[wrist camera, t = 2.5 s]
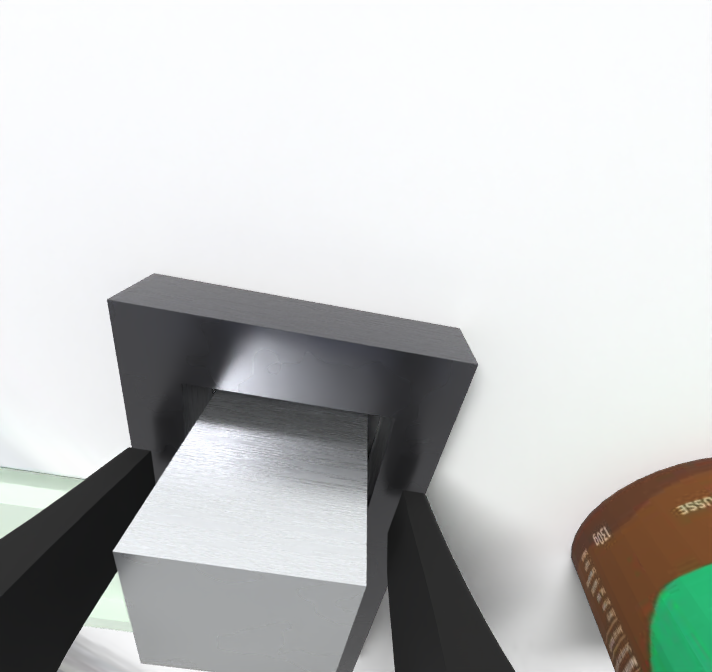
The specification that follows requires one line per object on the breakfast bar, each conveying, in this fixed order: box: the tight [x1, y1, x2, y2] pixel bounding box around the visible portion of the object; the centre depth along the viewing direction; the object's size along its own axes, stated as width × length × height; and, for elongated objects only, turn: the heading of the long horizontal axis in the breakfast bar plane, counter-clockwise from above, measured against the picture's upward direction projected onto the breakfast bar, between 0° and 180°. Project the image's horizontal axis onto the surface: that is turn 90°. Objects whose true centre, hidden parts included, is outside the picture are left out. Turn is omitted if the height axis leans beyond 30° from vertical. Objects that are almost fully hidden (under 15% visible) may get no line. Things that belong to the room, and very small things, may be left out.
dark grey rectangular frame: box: [107, 274, 478, 672], centre depth 14 cm, size 9×20×2 cm, turn 170°
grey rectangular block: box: [113, 389, 368, 672], centre depth 10 cm, size 4×4×6 cm
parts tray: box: [0, 467, 133, 632], centre depth 15 cm, size 9×9×1 cm
